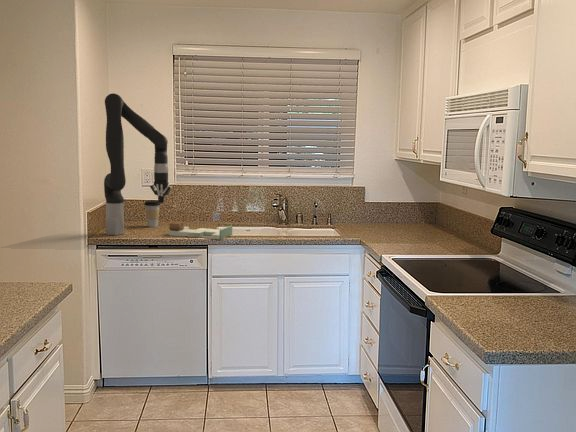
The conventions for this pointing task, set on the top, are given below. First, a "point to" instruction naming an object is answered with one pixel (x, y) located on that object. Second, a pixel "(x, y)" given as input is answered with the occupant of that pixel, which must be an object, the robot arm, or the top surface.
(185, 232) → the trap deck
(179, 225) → the walnut block
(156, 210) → the coffee cup
